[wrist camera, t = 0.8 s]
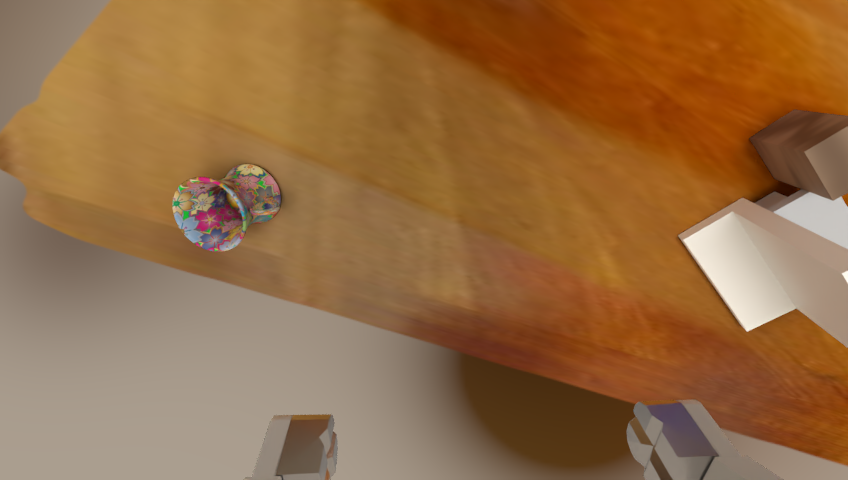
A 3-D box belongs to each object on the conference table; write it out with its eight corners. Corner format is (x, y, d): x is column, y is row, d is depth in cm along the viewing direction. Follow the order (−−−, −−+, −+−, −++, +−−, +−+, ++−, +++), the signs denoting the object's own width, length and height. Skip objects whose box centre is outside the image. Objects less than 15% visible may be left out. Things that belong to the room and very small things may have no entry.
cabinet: (805, 102, 45) (876, 109, 36) (830, 146, 46) (904, 162, 38) (749, 138, 47) (804, 151, 38) (774, 178, 48) (833, 200, 40)
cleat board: (796, 166, 47) (961, 216, 30) (857, 268, 50) (1037, 363, 34) (677, 235, 52) (764, 310, 35) (740, 324, 55) (847, 432, 38)
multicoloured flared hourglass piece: (232, 222, 61) (183, 251, 51) (218, 160, 58) (162, 177, 48) (309, 223, 59) (273, 253, 49) (299, 159, 56) (258, 177, 46)
